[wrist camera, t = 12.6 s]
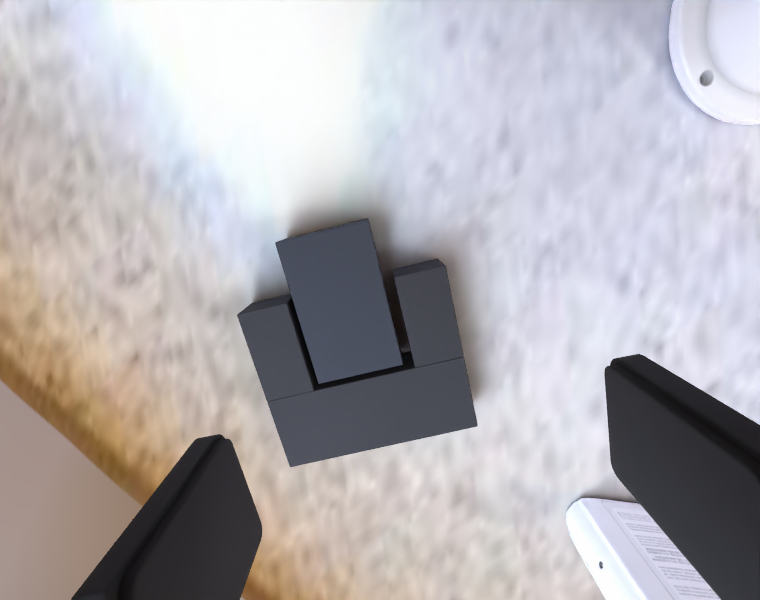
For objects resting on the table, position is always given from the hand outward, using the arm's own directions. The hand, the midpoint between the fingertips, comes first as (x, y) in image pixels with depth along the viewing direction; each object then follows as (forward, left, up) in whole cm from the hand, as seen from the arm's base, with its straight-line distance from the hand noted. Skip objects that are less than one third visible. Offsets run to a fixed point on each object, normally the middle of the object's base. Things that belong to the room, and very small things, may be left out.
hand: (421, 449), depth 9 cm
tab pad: (0, -3, -19) cm, 19 cm away
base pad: (+5, -3, -19) cm, 20 cm away
